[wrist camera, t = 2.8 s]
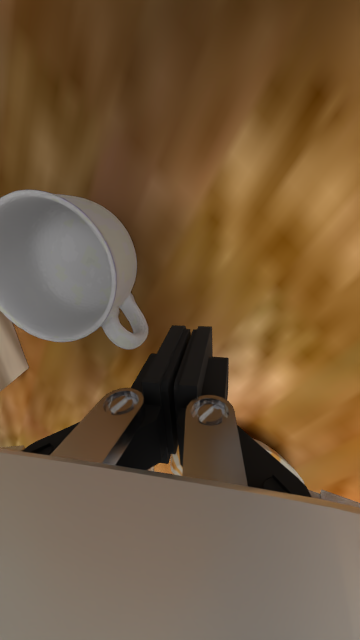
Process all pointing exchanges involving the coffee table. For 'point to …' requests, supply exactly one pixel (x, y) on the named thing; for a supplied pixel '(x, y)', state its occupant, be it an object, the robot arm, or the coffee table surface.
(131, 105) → the coffee table surface
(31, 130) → the coffee table surface
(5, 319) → the bar
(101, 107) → the coffee table surface
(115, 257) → the teacup
